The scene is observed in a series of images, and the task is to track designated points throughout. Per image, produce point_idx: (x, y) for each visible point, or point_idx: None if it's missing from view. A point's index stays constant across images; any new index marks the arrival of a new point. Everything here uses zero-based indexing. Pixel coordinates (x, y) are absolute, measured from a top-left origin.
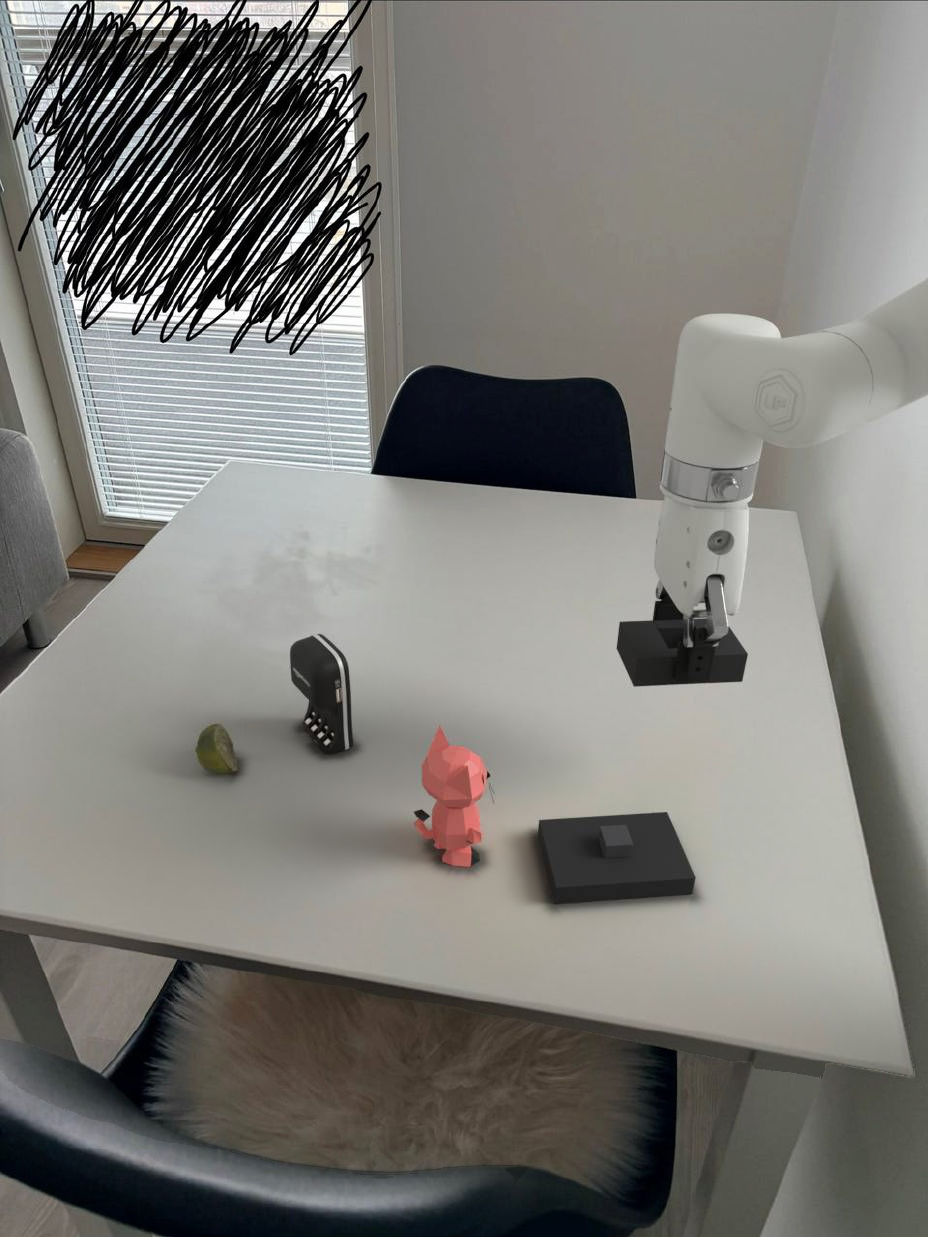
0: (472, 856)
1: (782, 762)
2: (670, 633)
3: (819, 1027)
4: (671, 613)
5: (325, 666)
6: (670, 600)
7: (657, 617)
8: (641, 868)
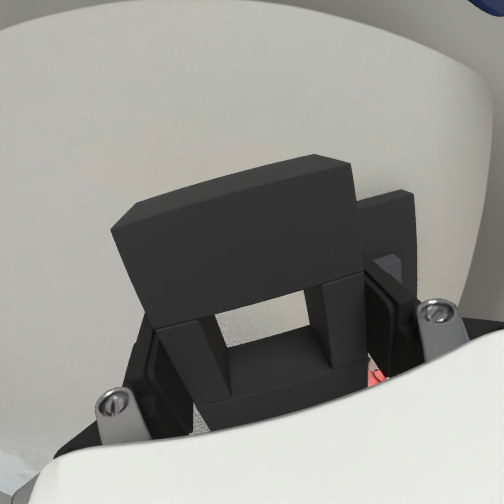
0: (368, 362)
1: (174, 56)
2: (220, 360)
3: (483, 120)
4: (177, 390)
5: None
6: (171, 426)
7: (191, 406)
8: (404, 243)
